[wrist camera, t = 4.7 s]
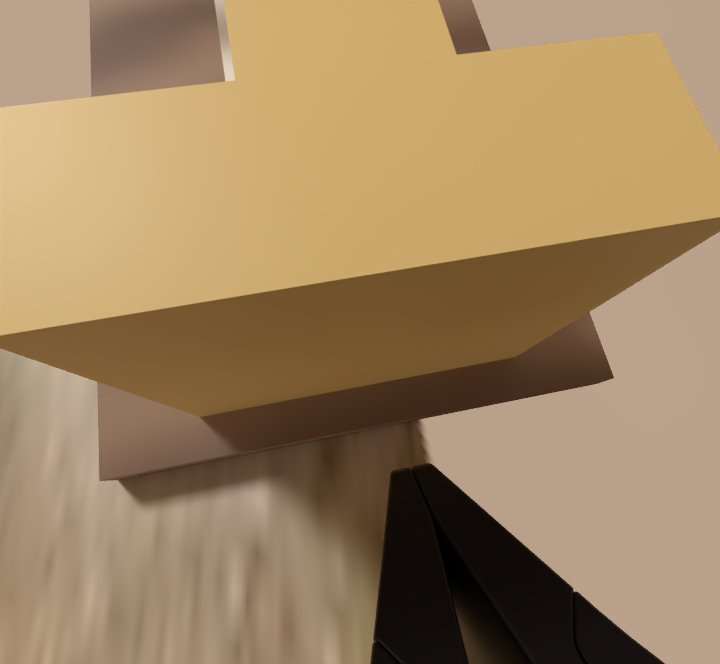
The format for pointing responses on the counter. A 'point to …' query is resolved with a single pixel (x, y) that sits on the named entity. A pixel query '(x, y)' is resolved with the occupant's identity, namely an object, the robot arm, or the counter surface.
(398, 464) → the counter surface
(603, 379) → the walnut board
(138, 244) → the t block
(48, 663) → the counter surface
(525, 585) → the robot arm
